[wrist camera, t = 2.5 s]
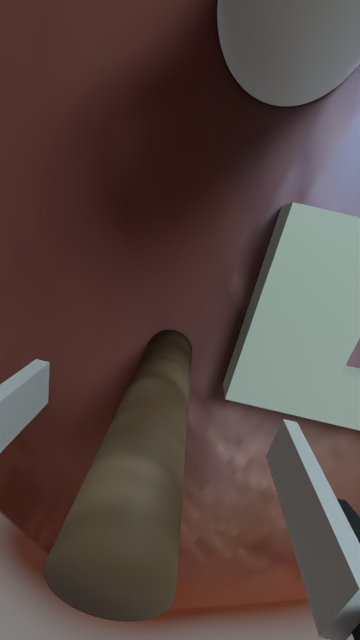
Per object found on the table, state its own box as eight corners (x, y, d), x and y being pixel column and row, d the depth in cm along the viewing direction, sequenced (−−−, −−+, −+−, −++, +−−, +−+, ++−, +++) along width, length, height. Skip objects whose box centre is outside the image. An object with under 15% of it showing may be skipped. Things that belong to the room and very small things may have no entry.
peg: (145, 363, 20) (42, 604, 7) (152, 325, 19) (44, 528, 6) (186, 373, 20) (161, 631, 7) (196, 335, 19) (189, 562, 6)
